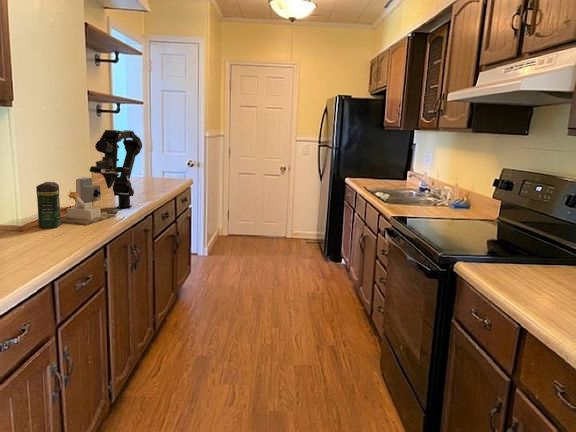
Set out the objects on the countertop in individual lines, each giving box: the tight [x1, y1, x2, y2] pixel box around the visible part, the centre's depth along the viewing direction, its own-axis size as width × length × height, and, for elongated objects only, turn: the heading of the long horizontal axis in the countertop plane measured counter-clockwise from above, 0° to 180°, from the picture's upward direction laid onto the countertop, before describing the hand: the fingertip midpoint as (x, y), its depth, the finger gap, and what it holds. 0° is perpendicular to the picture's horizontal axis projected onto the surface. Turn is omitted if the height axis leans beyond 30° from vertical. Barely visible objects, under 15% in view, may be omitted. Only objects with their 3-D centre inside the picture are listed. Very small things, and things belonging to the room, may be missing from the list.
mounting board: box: [61, 212, 116, 226], centre depth 204 cm, size 20×18×1 cm
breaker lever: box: [68, 191, 85, 208], centre depth 199 cm, size 2×3×10 cm
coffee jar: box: [35, 181, 62, 229], centre depth 186 cm, size 10×8×19 cm
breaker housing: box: [66, 202, 102, 219], centre depth 203 cm, size 7×12×6 cm, turn 77°
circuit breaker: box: [76, 176, 102, 207], centre depth 229 cm, size 8×14×15 cm, turn 78°
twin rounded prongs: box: [106, 208, 119, 215], centre depth 217 cm, size 7×12×2 cm, turn 77°
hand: (108, 188), depth 216 cm, fingers closed
